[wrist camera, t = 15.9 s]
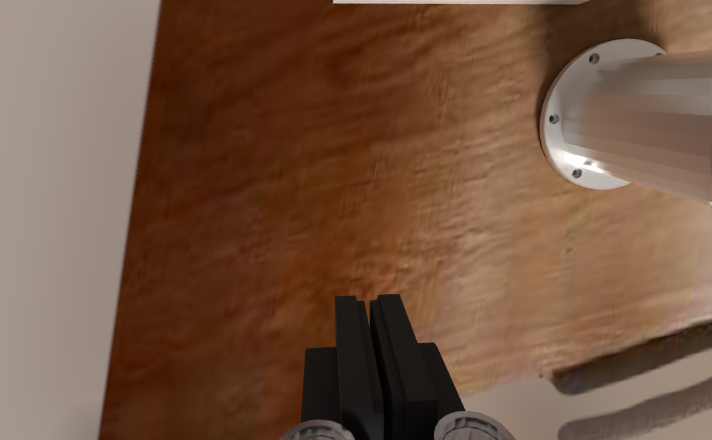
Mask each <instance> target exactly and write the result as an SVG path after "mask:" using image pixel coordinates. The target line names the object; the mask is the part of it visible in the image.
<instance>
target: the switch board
mask: <svg viewBox="0 0 712 440" xmlns="http://www.w3.org/2000/svg"><path fill="white" fill-rule="evenodd" d="M587 1H590V0H333V3H407V4H581V3H584V2H587Z"/></svg>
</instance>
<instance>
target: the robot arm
mask: <svg viewBox="0 0 712 440" xmlns="http://www.w3.org/2000/svg"><path fill="white" fill-rule="evenodd" d="M589 57H590V61H589ZM550 116H551V120H550V121H549V118H550ZM540 139H541V143H542V148H543V151H544V153H545V155H546V157H547V160H548V161H549V163H550V164H551V165H552V167H553V168H554V170H555V171H557V172H558V173H559V174H560V175H561V176H562V177H563V178H565V179H567V180H569V181H571V182H572V183H574V184H577V185H580V186H583V187H586V188H592V189H613V188H617V187H622V186H625V185H627V184H630V183H635V184H638V185H641V186H645V187H648V188H651V189H655V190H658V191H661V192H665V193H668V194H671V195H675V196H678V197H681V198H685V199H688V200H691V201H695V202H698V203H701V204H704V205H708V206H711V207H712V50H707V51H697V52H687V53H678V54H668V53H667V52H666V51H664V50H663V49H661V48H660V47H658V46H657V45H655V44H652V43H649V42H647V41H644V40H637V39H620V40H613V41H608V42H604V43H600V44H598V45H596V46H593V47H591V48H588V49H587V50H585V51H584V52H582V53H581V54H579V55H577V56H576V57H575V58H573V59H572V60H571V61H570V62H569V63H568V64H567V65H566V66H565V67H564V68H563V69H562V70H561V72H560V73H559V74H558V76H557V77H556V78H555V79H554V81H553V83H552V85H551V87H550V88H549V90H548V92H547V94H546V97H545V100H544V103H543V106H542V110H541V116H540ZM573 171H574V172H573ZM572 173H573V174H572ZM335 327H336V347H324V348H306V353H305V367H304V382H303V397H302V412H301V423H299V424H297V425H296V426H294V427H292V428H291V429H289V430H288V431H287V432H286V433H285V434H284V435H283V436H282V437H281V438H280V440H515V438H514V437H513V436H512V434H511V433H510V432H509V431H508V430H507V429H506V428H505V427H504V426H503V425H502V424H501V423H499V422H498V421H496V420H494V419H493V418H491V417H489V416H486V415H484V414H481V413H477V412H471V411H465V408H464V406H463V404H462V402H461V399H460V397H459V395H458V393H457V390H456V388H455V386H454V384H453V381H452V379H451V377H450V375H449V372H448V370H447V368H446V366H445V363H444V361H443V359H442V357H441V354H440V352H439V350H438V348H437V346H436V344H435V343H417V340H416V337H415V335H414V332H413V329H412V327H411V324H410V321H409V319H408V316H407V313H406V311H405V308H404V305H403V303H402V300H401V297H400V295H399V294H386V295H378V297H377V300H373V301H370V328H369V323H368V318H367V313H366V308H365V303H364V301H357V300H356V296H335Z"/></svg>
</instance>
